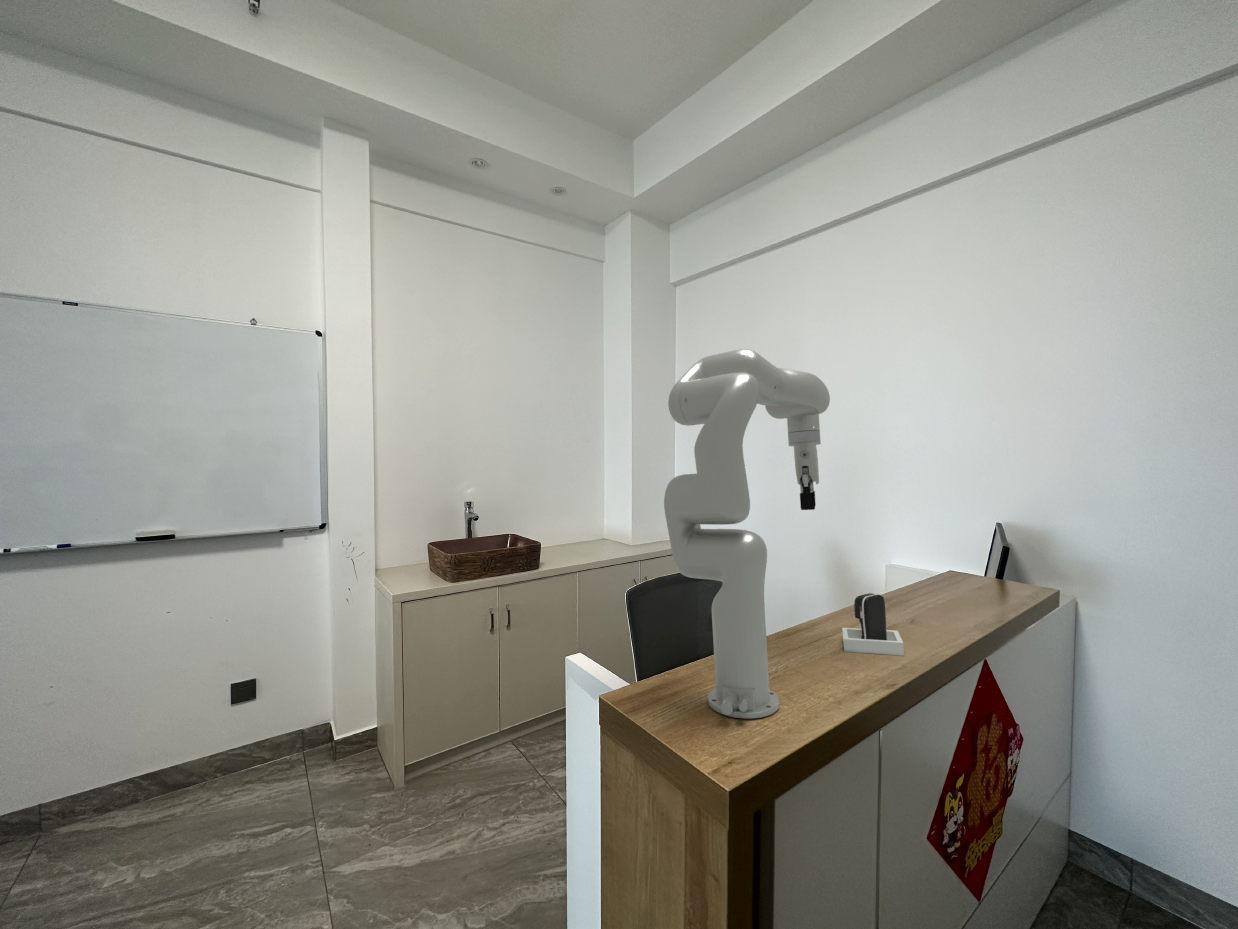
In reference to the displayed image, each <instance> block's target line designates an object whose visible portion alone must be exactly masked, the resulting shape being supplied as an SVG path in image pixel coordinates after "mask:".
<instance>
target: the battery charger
mask: <svg viewBox="0 0 1238 929" xmlns="http://www.w3.org/2000/svg"><path fill="white" fill-rule="evenodd" d="M853 607H854V618H855V619H858V621H859V623H860V627H861V628H860V629H862V637H861V639H871V640H887V635H886V630H887V613H886V602H885V597H884V596H883V595H882V594H878V593H869V592H868V593H864V594H861V595H858V596H856V597H855V599H854V606H853Z"/></svg>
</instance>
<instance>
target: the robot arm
mask: <svg viewBox="0 0 1238 929" xmlns="http://www.w3.org/2000/svg"><path fill="white" fill-rule="evenodd" d="M830 400H831V396H830V391H829V389H828V386H826V384H825V383H824V382H823V381H822V380H821V378H819V377H818V376H817V375H815V374H813V373H809V372H805V371H801V370H794V369H788V368H782V367H781V368H780V367H776V365H774V364H772V363H771V362H770V361H768V360H767V359H766V358H764V356H762V355H761V354H760V353H758V352H756V351H755V350H753V349H746V348H742V349H741V348H739V349H735V350H730V351H725V352H721V353H716V354H711V355H708V356H707V355H706V356H705V357H702V358H701V359H699V360H698V361H697V362H695V363H694V364H693V365H692V366H691V367H690V368H688V370H687V371H686V372H685V373H684V374H683V375H682V376H681V377H680V378H679V379H678V381H677V382H676V383H674V385H673V387H672V388H671V390H670V393H669V395H668V402H667V403H668V404H667V405H668V411H669V413H670V415H671V418H672V419H673V420H674V421H675V422H676V423H678V424H679V425H681V426H685V427H686V426H687V427H688V426H689V427H690V426H695V425H696V426H697V425H703V426H702V428H701V429H700V431H699V433H698V435H697V438H696V439H695V444H694V446H693V447H694V449H693V452H694V459H695V460H694V461H695V469H696V473H687V474H680V475H676V476H674V477H673V478H672V479H671V480H670V481H669V482H668V483H667V485H666V489H665V492H664V498H663V508H664V509H663V510H664V516H665V522H666V526H667V527H666V528H667V533H668V538H669V542H670V549H671V554H672V559H673V562H674V564H675V567H676V569H677V571H678V572H679V573H680V574H681V575H683V576H685V577H687V578H689V579H690V578H692V579H700V580H710V581H717V582H721V583H722V585H721V587H720V589H719V590H718V592H717V593H716V595H715V596H714V597H713V600H712V604H711V622H712V623H711V624H712V638H713V639H712V640H713V657H714V659H713V661H714V676H715V688H712V689H711V691H709V693H708V695H707V702H708V705H709V707H710V708H711V709H713V710H714V711H716V712H717V713H719V714H721V715H724V716H726V717H731V718H736V719H744V720H746V719H749V720H751V719H760V718H766V717H768V716H771V715H773V714H774V713H775V712H777V711H778V709H779V708H780V698H779V696H778V695H777V693H776V692H774V691H773V690H772V689H770V680H769V679H770V678H769V677H770V676H769V658H768V644H767V642H768V641H767V628H766V627H767V626H766V625H767V624H766V609H765V607H766V606H765V604H766V603H765V580H766V571H767V562H768V549H767V545H766V543H765V541H764V539H763V538H762V537H761V536H760V535H759V534H758V533H756V532H753V531H752V530H751V531H749V530H747V529H739V528H701V526H702V525H720V526H721V525H737V524H740V523H743V521H745V520H746V519H747V518H748V517H749V515H750V510H751V499H750V491H749V485H748V483H749V482H748V477H747V471H746V464H745V458H744V450H743V449H744V447H743V444H744V437H745V432H746V430H747V428H748V424H749V422H750V419H751V417H752V415H753V413H754V411H755V409H756V407H757V405H761V406H764V407H765V410H766V413H767V414H768V415H769V416H770V417H771V418H775V419H779V420H783V419H786V420H787V421H786V422H787V423H786V424H787V441H788V447H793V456H794V458H793V459H794V466H795V467H794V470H795V475H796V481H797V485H799V486H800V488H799V489H800V493H799V502H800V503H799V505H800V510H802V511H815V509H816V491H815V490H814V483H815V485H818V484H820V475H819V472H820V471H819V456H818V450H817V446H818V445H821V444H822V443H821V428H820V414H821V415H822V414H823V413H825V412H826V411H827V410H828V408H829V406H830V402H831V401H830Z"/></svg>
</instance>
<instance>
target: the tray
mask: <svg viewBox="0 0 1238 929" xmlns="http://www.w3.org/2000/svg"><path fill="white" fill-rule="evenodd" d="M841 629H842V642H843V651H844V653H845V652H848V653H861V654H862V653H863V654H873V655H875V654H876V655H889V656H890V655H891V656H902V657H904V656H905V650H904V647H905V646H904V641H903V639H902V637H901V635H900V632H899V630H894V629H893V630H890V629H889V630H888V629H886V635H887V640H871V639H861V637H862V629H861V628H854V627H842V628H841Z"/></svg>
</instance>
